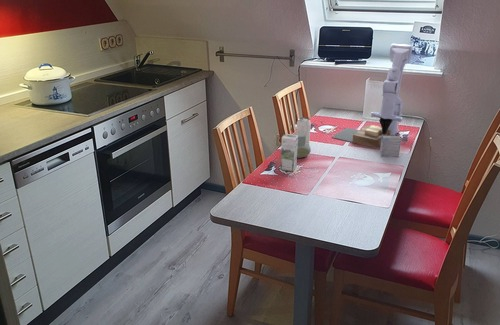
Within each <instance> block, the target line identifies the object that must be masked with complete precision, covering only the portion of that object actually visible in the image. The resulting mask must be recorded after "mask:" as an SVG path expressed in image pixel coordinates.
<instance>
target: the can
mask: <svg viewBox="0 0 500 325" xmlns="http://www.w3.org/2000/svg"><path fill="white" fill-rule="evenodd" d="M297 119H298V120H297V122H296V132H295V133H304V134H305V135H306V141H305V143H307V144H308V145H309V144H310V143H311V142H310V139H311V126H312V125H311V119H310V118H308V117H299V118H297Z"/></svg>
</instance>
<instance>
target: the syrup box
mask: <svg viewBox="0 0 500 325" xmlns="http://www.w3.org/2000/svg"><path fill="white" fill-rule="evenodd" d="M280 144H281V148H280V171H287V172H295V170H296V168H297V164H298V163H297V162H298V161H297V160H298V158H297V147H298V135H293V134H291V133H290V134H288V133H284V134H283V135H282V137H281V143H280Z"/></svg>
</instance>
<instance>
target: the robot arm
mask: <svg viewBox="0 0 500 325" xmlns="http://www.w3.org/2000/svg"><path fill="white" fill-rule="evenodd" d="M412 52H413V46H412V45H411V44H410V45H409V44H400V43H399V44H397V43H392V44H391V45H390V49H389V59H390V62H391V63H392V65H391V68H389V69H388V71H387V76H386V79H385V80H384V82H383V84H382V102H381V108H380V112H378V111H377V112H375V111H372V112H371V114H370V117H371V118H377V119H378V118H380V119H378V120H379V123H380V127H382V134H386V133H387V130H388V129H389V130H390V136H396V134H397V133H399V132H400V129H399V124H400V123H402V122H403V118H404V117H403V116H402V113H403V106H404V100H402V99H401V98H400V96H399V95H400V90H401V84H402V78H403V74H404V73H403V72H404V68H405V66H406V65H407V64H409V63H410V61H411V58H412Z"/></svg>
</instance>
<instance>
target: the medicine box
mask: <svg viewBox="0 0 500 325" xmlns="http://www.w3.org/2000/svg"><path fill="white" fill-rule="evenodd" d="M401 145H402V138H401V137H400V136H399V135H394V136H392V135H390V136H382V139H381V145H380V146H379V147H380V148H379V154H380V157H385V158H386V157H390V158H399V157H400V150H401Z"/></svg>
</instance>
